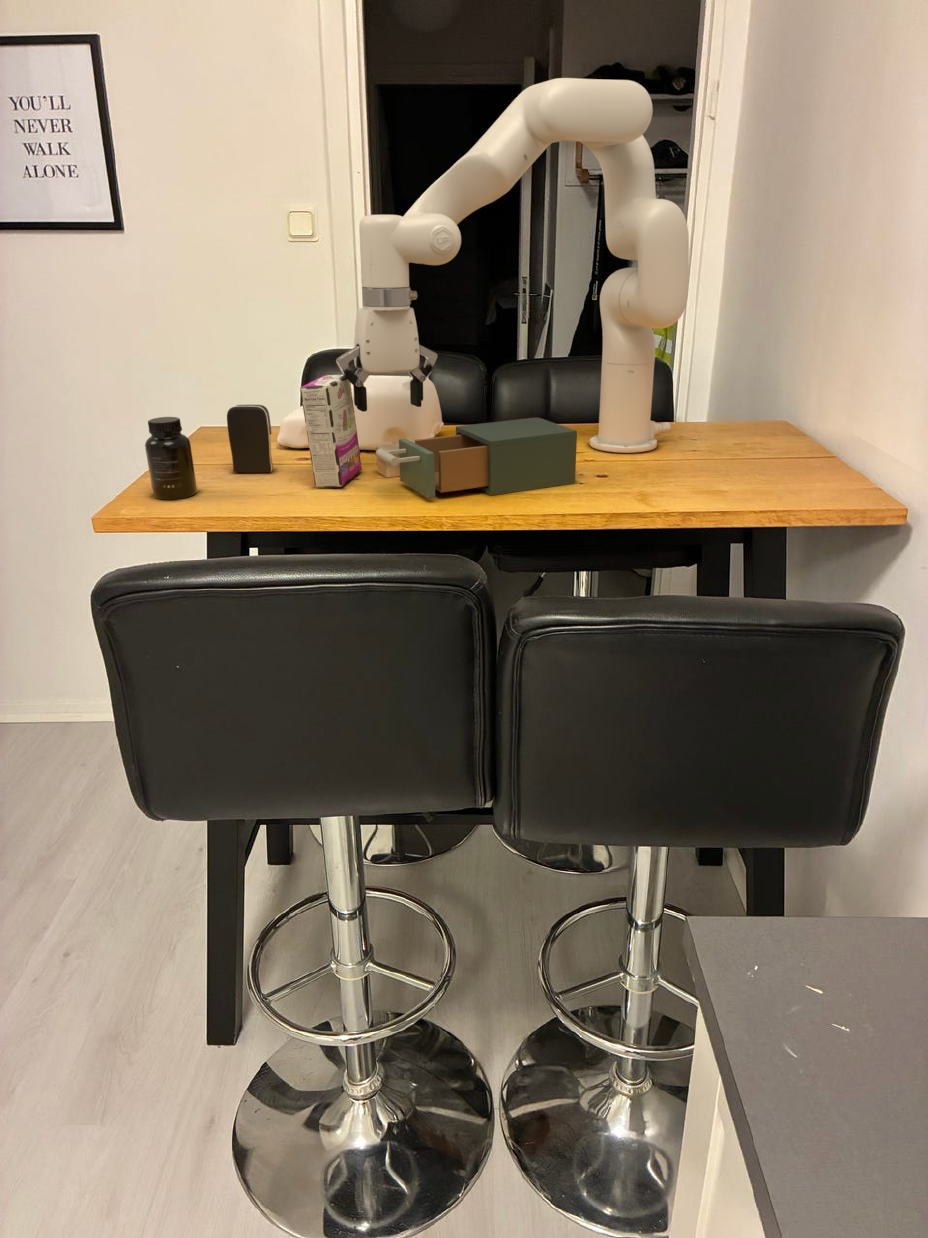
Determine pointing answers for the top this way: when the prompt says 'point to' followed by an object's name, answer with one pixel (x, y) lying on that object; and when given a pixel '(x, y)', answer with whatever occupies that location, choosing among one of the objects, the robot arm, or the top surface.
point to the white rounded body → (379, 415)
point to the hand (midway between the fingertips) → (389, 407)
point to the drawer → (440, 463)
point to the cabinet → (525, 454)
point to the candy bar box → (331, 430)
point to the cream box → (385, 467)
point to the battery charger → (250, 438)
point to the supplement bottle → (170, 460)
